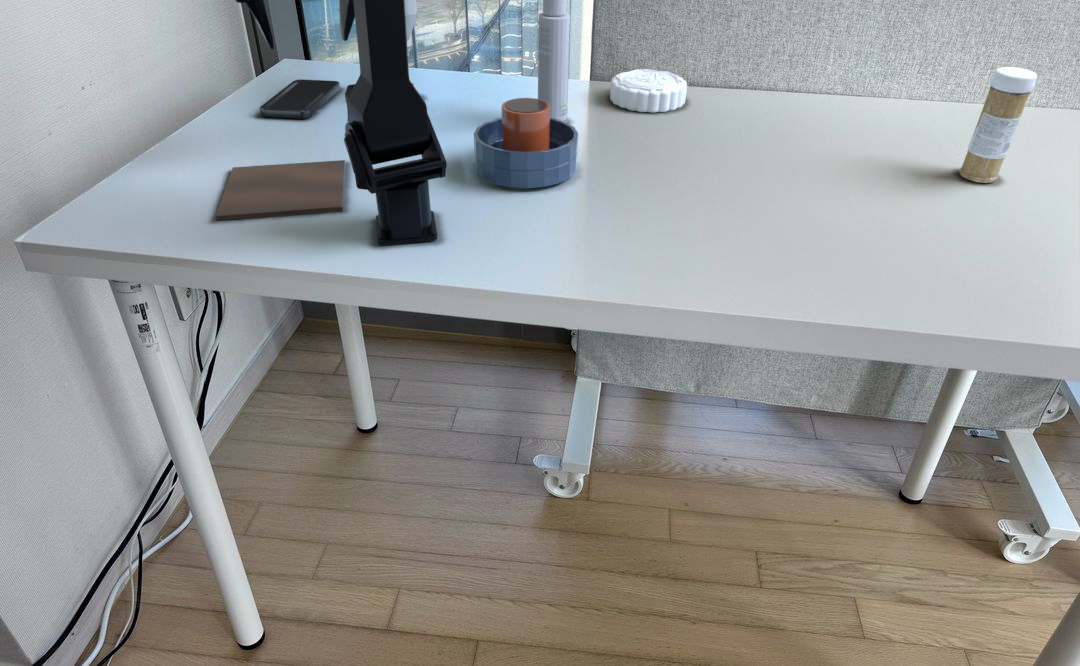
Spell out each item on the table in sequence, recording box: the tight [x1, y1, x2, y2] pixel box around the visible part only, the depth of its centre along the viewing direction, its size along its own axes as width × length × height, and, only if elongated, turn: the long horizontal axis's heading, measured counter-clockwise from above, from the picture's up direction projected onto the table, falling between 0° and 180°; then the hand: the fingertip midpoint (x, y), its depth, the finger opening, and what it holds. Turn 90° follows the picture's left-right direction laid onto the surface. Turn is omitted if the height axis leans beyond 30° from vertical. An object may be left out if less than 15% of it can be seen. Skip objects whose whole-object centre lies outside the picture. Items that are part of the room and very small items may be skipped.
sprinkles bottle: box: [958, 66, 1038, 184], centre depth 93 cm, size 5×5×14 cm
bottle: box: [537, 0, 571, 123], centre depth 106 cm, size 4×4×20 cm
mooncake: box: [609, 68, 688, 114], centre depth 119 cm, size 12×12×4 cm
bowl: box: [473, 117, 579, 189], centre depth 96 cm, size 13×13×5 cm
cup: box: [501, 97, 550, 152], centre depth 95 cm, size 6×6×8 cm
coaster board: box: [215, 159, 346, 221], centre depth 91 cm, size 14×14×1 cm
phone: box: [259, 78, 341, 120], centre depth 118 cm, size 8×1×15 cm
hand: (308, 43), depth 94 cm, fingers open, 9 cm apart
